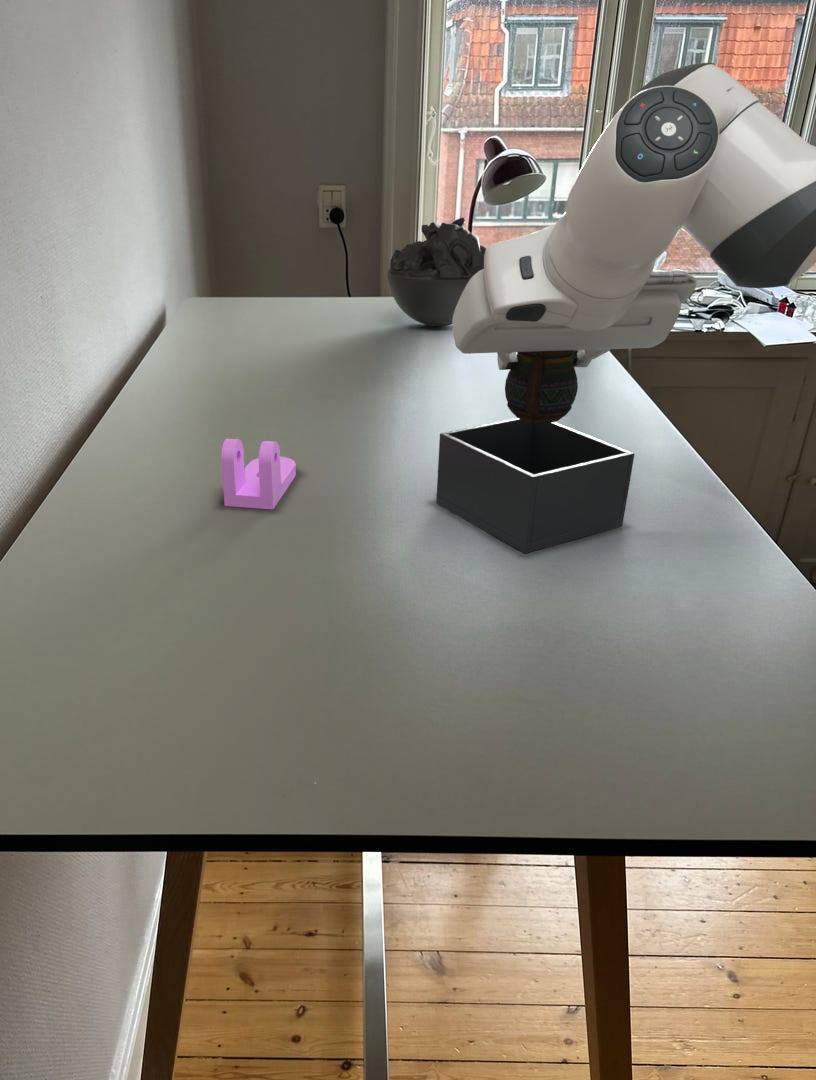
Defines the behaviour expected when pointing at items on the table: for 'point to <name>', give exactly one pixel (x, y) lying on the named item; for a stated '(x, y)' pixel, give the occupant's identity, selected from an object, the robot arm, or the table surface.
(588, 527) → the waste bin
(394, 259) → the grey filled bowl
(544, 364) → the mate gourd
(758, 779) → the table surface
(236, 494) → the bracket
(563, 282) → the robot arm
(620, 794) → the table surface
